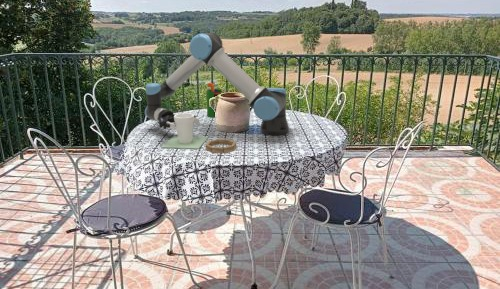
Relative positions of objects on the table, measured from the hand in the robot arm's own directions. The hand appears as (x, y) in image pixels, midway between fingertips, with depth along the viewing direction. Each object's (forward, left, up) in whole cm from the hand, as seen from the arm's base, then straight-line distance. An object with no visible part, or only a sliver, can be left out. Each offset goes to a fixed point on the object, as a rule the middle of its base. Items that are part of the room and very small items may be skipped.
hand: (186, 124), depth 186 cm
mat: (+2, -2, -10) cm, 10 cm away
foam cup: (+2, -2, -9) cm, 10 cm away
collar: (-17, +4, -10) cm, 20 cm away
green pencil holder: (+1, -56, -10) cm, 56 cm away
